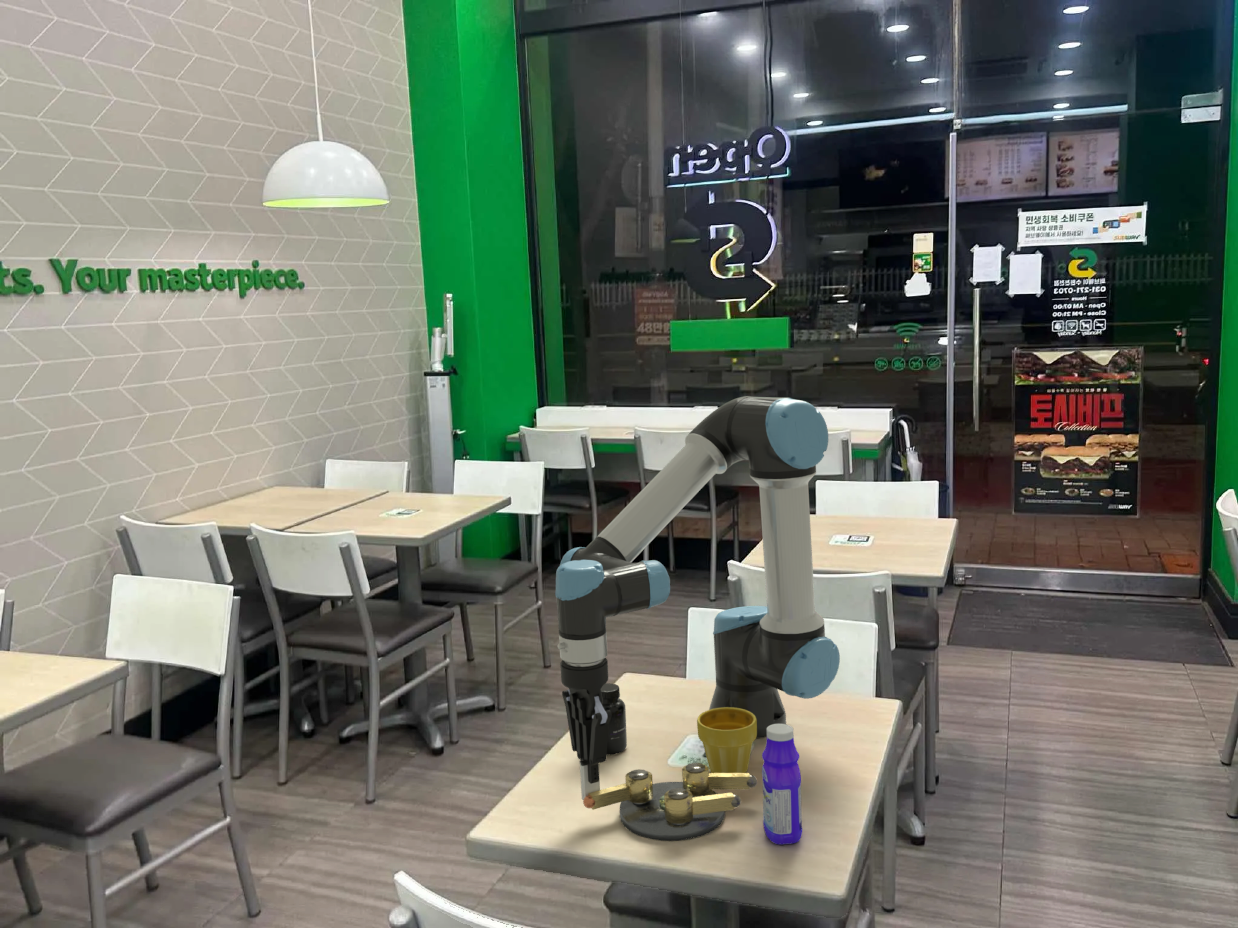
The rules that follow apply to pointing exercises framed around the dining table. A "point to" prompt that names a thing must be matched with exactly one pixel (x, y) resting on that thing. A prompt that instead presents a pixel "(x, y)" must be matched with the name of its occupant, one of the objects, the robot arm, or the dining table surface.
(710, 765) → the plant pot
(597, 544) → the robot arm
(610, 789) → the knob
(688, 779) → the knob left
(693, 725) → the dining table surface
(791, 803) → the bottle
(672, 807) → the knob
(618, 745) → the supplement bottle
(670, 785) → the tribrach plate
